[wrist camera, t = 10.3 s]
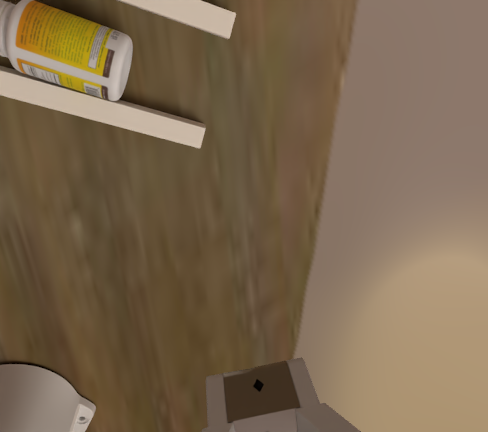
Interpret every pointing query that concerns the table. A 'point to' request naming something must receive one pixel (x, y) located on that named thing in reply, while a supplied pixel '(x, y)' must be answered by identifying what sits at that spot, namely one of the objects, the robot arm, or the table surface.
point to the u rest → (121, 112)
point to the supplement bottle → (65, 48)
